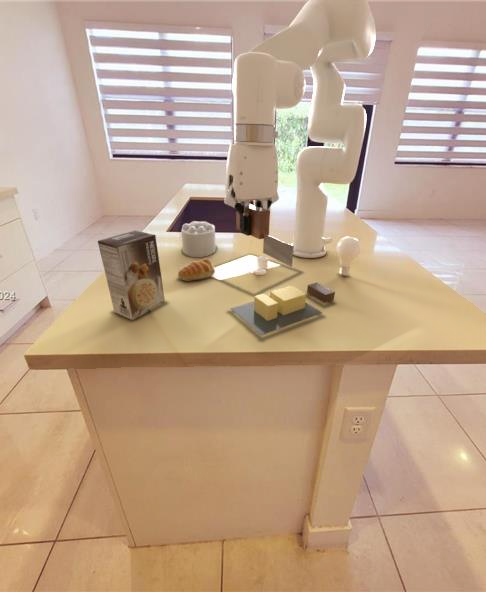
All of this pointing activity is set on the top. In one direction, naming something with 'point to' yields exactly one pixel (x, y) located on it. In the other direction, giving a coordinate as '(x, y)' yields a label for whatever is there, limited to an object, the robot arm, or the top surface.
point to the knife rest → (320, 292)
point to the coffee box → (132, 272)
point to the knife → (267, 235)
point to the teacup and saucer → (261, 265)
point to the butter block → (288, 299)
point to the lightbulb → (347, 253)
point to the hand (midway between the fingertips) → (251, 232)
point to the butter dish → (281, 321)
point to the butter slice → (265, 306)
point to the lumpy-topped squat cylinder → (198, 239)
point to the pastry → (197, 270)
